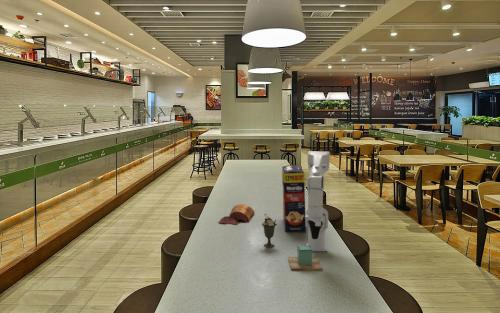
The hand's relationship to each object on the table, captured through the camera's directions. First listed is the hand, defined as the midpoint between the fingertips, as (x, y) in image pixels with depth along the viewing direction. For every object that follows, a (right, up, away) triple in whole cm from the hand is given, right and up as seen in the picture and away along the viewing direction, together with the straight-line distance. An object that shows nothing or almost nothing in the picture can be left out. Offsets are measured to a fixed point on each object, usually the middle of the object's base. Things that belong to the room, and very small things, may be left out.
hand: (314, 238), depth 150 cm
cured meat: (-34, -4, +66) cm, 74 cm away
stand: (-4, -10, -1) cm, 11 cm away
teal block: (-4, -9, -1) cm, 10 cm away
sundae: (-17, -8, +21) cm, 28 cm away
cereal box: (-3, -5, +53) cm, 54 cm away
